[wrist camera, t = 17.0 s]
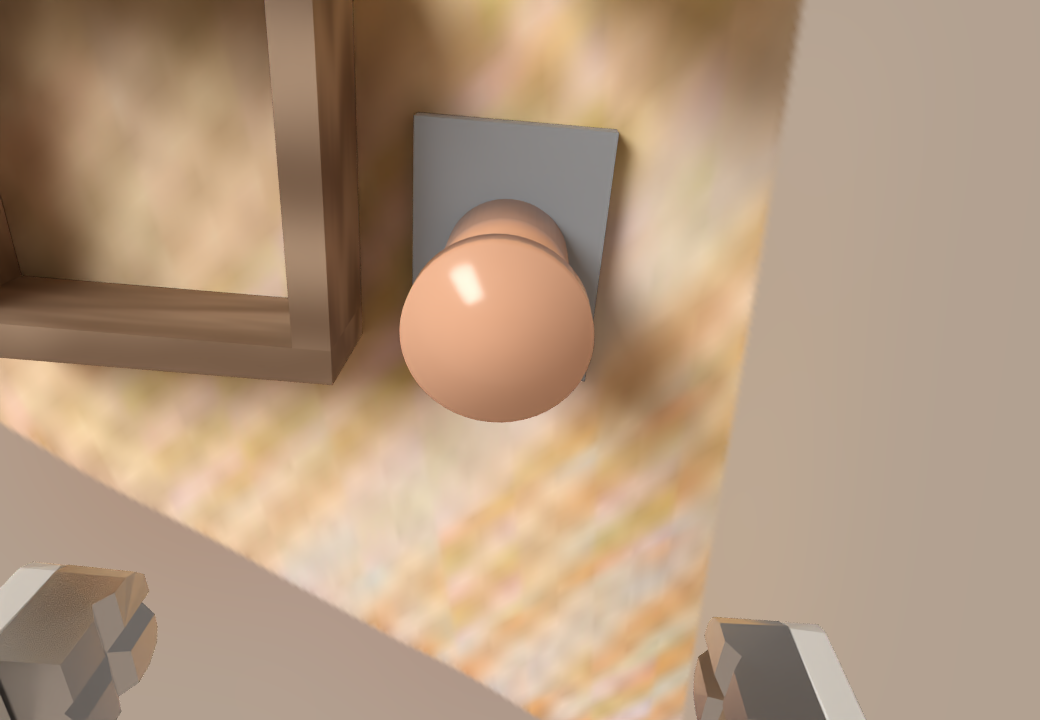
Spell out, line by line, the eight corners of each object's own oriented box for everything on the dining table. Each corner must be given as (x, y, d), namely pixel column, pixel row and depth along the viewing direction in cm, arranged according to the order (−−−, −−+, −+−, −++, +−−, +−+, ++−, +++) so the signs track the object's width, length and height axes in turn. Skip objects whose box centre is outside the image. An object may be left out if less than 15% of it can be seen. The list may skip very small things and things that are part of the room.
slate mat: (418, 112, 27) (413, 115, 26) (616, 129, 27) (618, 132, 26) (415, 357, 32) (411, 367, 31) (583, 371, 32) (584, 381, 31)
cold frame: (-133, -145, 24) (-375, -208, 17) (349, -102, 24) (281, -149, 18) (-4, 303, 31) (-140, 372, 25) (362, 334, 31) (317, 410, 25)
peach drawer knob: (436, 179, 27) (400, 235, 20) (589, 194, 27) (608, 255, 20) (431, 320, 30) (398, 413, 23) (570, 333, 30) (580, 430, 23)
